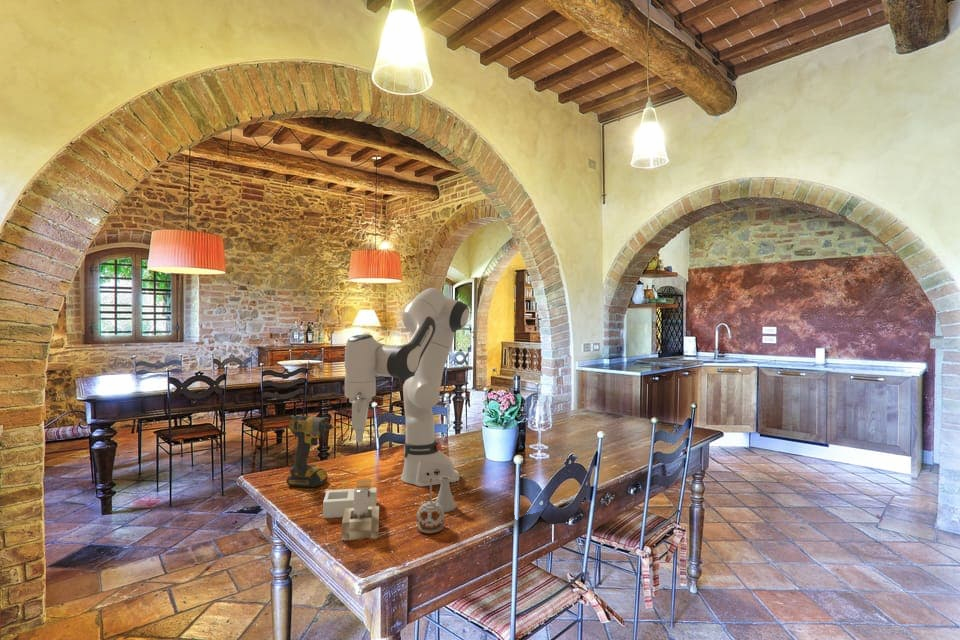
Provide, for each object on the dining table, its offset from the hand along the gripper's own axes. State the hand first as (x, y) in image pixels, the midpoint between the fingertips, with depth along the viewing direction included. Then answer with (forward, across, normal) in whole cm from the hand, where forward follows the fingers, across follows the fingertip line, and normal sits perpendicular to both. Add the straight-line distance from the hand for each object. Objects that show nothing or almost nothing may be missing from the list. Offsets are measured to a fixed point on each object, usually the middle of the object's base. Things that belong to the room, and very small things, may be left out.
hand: (360, 437), depth 138 cm
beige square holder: (+27, -1, 0) cm, 27 cm away
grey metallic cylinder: (+27, -1, 0) cm, 27 cm away
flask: (+28, +11, -26) cm, 40 cm away
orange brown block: (+26, +15, 0) cm, 30 cm away
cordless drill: (+27, +41, +19) cm, 52 cm away
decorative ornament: (+28, -3, -20) cm, 34 cm away
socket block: (+27, +15, +4) cm, 31 cm away
